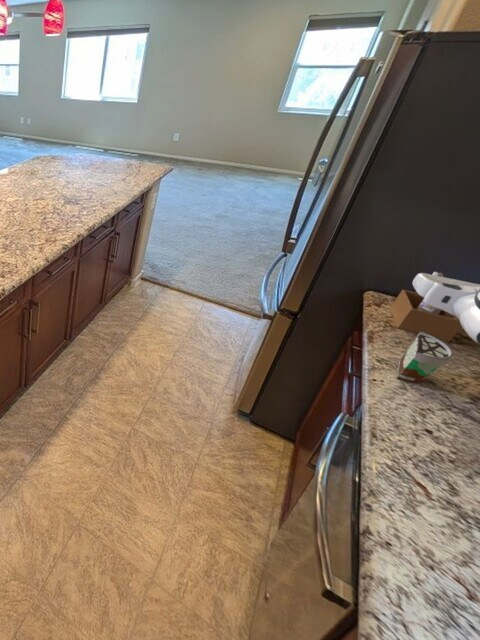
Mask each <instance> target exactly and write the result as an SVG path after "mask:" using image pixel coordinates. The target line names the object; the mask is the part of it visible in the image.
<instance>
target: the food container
mask: <svg viewBox="0 0 480 640" xmlns="http://www.w3.org/2000/svg"><path fill="white" fill-rule="evenodd" d="M451 359H452V350H451V348H450V347H449V346H448V345H446V344H445V343H444V342H443V341H442V340H440V339H436V338H434V337H432V336H430V335H428V334H426V333H423V332H420V333H419V334H418V333H417V335H416V337H415V338H414V340H413V341H412V342H411V344H410V345H409V347H408V348H407V349H406V351H405V352H404V354H403V355H401V357H400V359H399V361H398V367H397V373H396V380H397V379H398V380H400V381H403V382H407V383H410V384H422V383H423V382H424V381H425V380H427V379H428V377H430V376H431V375H432V374H433V373H434V372H435V371H436V370H437V369H439V367H440V366H446V365H448V364H449V363H450V362H451Z"/></svg>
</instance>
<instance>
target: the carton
mask: <svg viewBox="0 0 480 640" xmlns="http://www.w3.org/2000/svg"><path fill="white" fill-rule="evenodd" d="M423 299H424V297H422V296H420V295H419V294H418V293H417V292H416V291H410V290H406V289H402V290H401V291H400V292H399V294H398V295H397V297H396V298H395V299H394V301H393V302H392V303H391V306H389V310H390V312H391V315H392V317H393V319H394V323H395V325H396V328H397V329H399V330H404V331H407V332H410V333H415V334H417V335H418V334H419V333H420V332H423V333H426V334H428V335H430V336H432V337H434V338H436V339H438V340H440V341H444V342H448V343H449V342H450V341H451V340H452V339H453V338H454V337H455V335H456V334H457V333H458V332H459V331H460V330H461V328H463V327H462V325H461V323H460V320H459V319H458V318H457V317H456V316H454V315H452V314H450V313H448V312H446V311H443V310H441V311H440V313H439V314H438V315H436V314H432V313H428V312H424V311H420V310H416V309H417V308H418V306H419V305H420V304H421V303H422V301H423Z"/></svg>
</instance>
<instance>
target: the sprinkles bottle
mask: <svg viewBox="0 0 480 640" xmlns="http://www.w3.org/2000/svg"><path fill="white" fill-rule="evenodd" d="M416 310H420V311H424V312H428V313H432V314H436V315H438V314H439V313H440V311H441V309H438V308H436V307H433V306H430V305H427V304H425V303H424V302H423V301H422V303H421V304H420V305H419V306H418V308H417V309H416Z"/></svg>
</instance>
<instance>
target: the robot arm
mask: <svg viewBox="0 0 480 640" xmlns="http://www.w3.org/2000/svg"><path fill="white" fill-rule="evenodd" d="M411 283H412V286H413V288H414V290H415V292H416V293H418V294H419V295H420V296H422V297H424V299H423V302H424V303H425V304H427V305H430V306H433V307H436V308H438V309H441V310H443V311H446V312H448V313H450V314H452V315H454V316H456V317H457V318H458V319H459V320H460V323H461V325H462V327H461V328H462V329H463V330H464V331H465V333H466V334H467V335H468V337H469V338H470V339H472V341H474V342H475V343H476V344H478V345H480V284H479V283H473V282H469V281H464V280H461V279H460V280H459V279H455V278H449V277H445V276H444V274H443V273H442V272H438V271H433V272H432V274H430V273H426V272H420V273H417V274H416V275H415V277H414V278H413V280H412V282H411Z"/></svg>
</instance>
